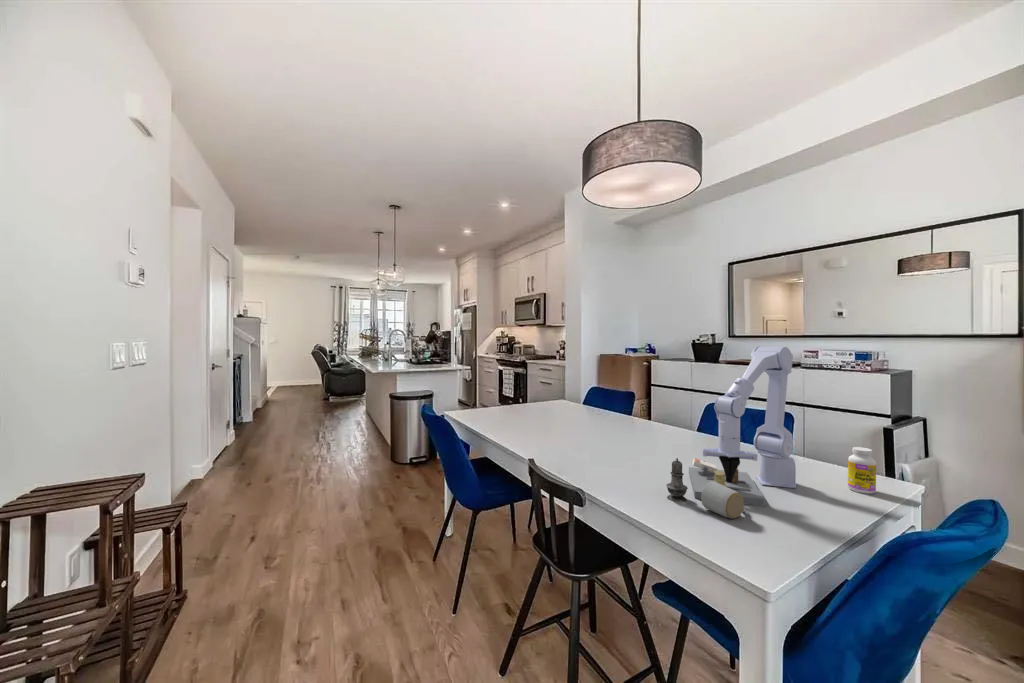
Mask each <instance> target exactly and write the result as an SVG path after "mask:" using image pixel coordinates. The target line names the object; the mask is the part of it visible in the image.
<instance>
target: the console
mask: <svg viewBox="0 0 1024 683" xmlns="http://www.w3.org/2000/svg"><path fill="white" fill-rule="evenodd" d="M703 461H704V462H706V461H705V460H703ZM717 471H723V472H724V469H717ZM724 474H725V472H724ZM688 475H689V476H688V477H689V479H690V483H691V484H690V485H691V487H692V492H693V495H694V496H693V497H694V499H699V500H701V495H702V491H703V489H704V487H705V486H706V484H708V483H709V482H712V481H714V473H713V472H710V471H708V467H705V466H703V469H701V468H698V467H695V466H693V467H691V466H688ZM725 487H728V488H730V489H732V490H734V491H736V492H738V493H739V494H740V495H741V496H742V497H743V500H744V505H752V506H761V507H766V498H765V497H764V496H763V494H762V493H761V491H760V489H759V487H758V486H757V485H756V483H755V482H754V480H753V478H751V475H750V474H749V473H748V471H747V472H746V471H738V483H734V482H732V483H727V482H726V476H725Z"/></svg>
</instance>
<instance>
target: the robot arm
mask: <svg viewBox="0 0 1024 683" xmlns="http://www.w3.org/2000/svg"><path fill="white" fill-rule="evenodd" d="M793 356H794V355H793V353H792V352H791V350H790V348H788V347H787V346H782V347H781V346H778V347H777V346H760V345H758V346H755V347H754V349H753V350H752V351H751V352H750V363H749V364H748V366H747V368H746V370H745V372H744V374H743V375H742V376H741V377H739V378H735V379H734V381H733V383H732V384H731V386H730V387H729V388H728V389H727V391H725V394H724V395H721V396H719V397H717V398H716V400H715V403H714V405H713V408H714V411H715V414H716V419H717V420H718V448H702V449H701V451H702V453H701V454H702V457H715V458H718V459H719V461H720V463H721V466H722V468H723V469H722V470H724V472H725V476H726V482H727V483H732V480H733V476H734V473H735V471H736V469H737V468H738V467H739V466H740V463H741V460H752V461H758V454H759V475H756V477H755V478H756V479H757V480H758V482H759V483H760V484H761V485H762V486H769V487H780V488H790V489H797V485H796V476H797V475H796V474H797V473H796V472H797V471H796V462H795V461H796V460H795V459H794V457H793V456H791V455H792V454H793V452H794V442H793V434H792V433H791V431H790V430H788V429H787V428H786V427H785V426H784V424H785V423H784V422H785V414H786V412H785V411H786V402H787V401H786V399H787V389H788V379H789V378H788V377H789V374H791V373H792V369H793V358H794V357H793ZM764 372H765V373H766V374H767V375H768V382H767V383H768V386H767V396H766V406H765V417H764V424H761V425H760V426H759V427H757V428H756V432H755V435H754V436H753V437H754V438H753V446H754V448H755V450H757V452H755V451H754V452H752V451H747V450H741V417H742V416H743V415H744V414H745V411H746V406H747V401H748V399H749V398H750V396H751V395H752V394H753V392H754V391H755V386H754V383H755V382H757V380H758V379H759V378H760V376H762V374H763V373H764Z"/></svg>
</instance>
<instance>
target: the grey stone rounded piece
mask: <svg viewBox="0 0 1024 683" xmlns="http://www.w3.org/2000/svg"><path fill="white" fill-rule="evenodd" d="M670 474H671V477H670V478H671V480H670V482H669V483H666V489H667V491H668V493H669V495H667V496H666V498H667V499H668V500H669V501H671V502H675V503H686V502H687V497H685V495H686V493H687V490H688V489H689V487H688V486H687V485H685V484H684V482H683V476H684V475H685V474H684V473H683V463H682V462H681V461H680V460H679V458H678V457H676V458H675V460H673V461H672V462H671V471H670Z"/></svg>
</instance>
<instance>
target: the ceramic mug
mask: <svg viewBox="0 0 1024 683" xmlns="http://www.w3.org/2000/svg"><path fill="white" fill-rule="evenodd" d="M700 500H701V504H702V506H703V507H704V508H705V510H708V511H710V512H713V513H715V514H718V515H720V516H723V517H725V518H727V519H730V520H732V519H733V520H734V519H737V518H739V516H741V514H742V513H745V510H746V506H745V504H744V500H743V497H742V496H741V495H740V494H739V493H738V492H736V491H734V490H732V489H730V488H728V487H725V486H723V485H721V484H719V483H717V482H714V481H712V482H709V483H708V484H706V486H705V487H704V489H703V491H702V495H701V499H700Z"/></svg>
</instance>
